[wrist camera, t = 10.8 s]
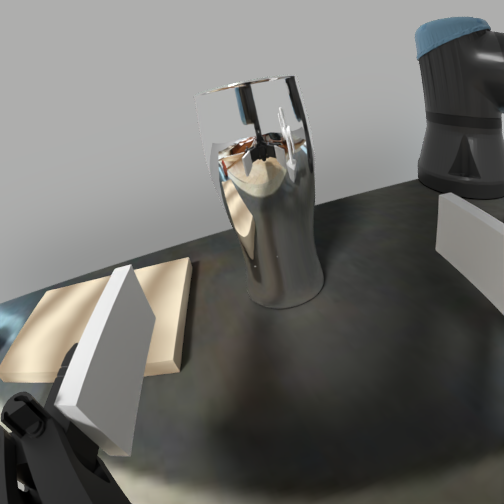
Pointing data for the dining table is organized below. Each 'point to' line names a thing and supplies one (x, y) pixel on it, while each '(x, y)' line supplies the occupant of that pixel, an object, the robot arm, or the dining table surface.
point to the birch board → (79, 312)
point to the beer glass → (265, 183)
